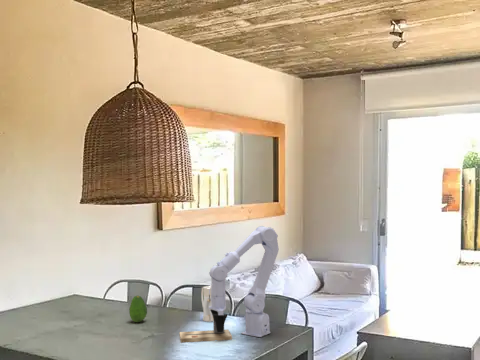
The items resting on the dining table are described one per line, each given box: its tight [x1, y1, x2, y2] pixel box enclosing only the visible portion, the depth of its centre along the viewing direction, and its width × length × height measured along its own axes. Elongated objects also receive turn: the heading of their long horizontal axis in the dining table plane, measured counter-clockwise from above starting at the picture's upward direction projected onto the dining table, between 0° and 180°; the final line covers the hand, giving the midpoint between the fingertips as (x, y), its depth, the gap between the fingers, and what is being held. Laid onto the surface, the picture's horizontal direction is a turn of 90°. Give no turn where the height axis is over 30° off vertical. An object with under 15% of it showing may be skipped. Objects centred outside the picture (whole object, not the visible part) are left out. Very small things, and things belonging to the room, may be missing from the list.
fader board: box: [178, 329, 233, 344], centre depth 219 cm, size 20×10×2 cm, turn 100°
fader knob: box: [212, 321, 225, 333], centre depth 220 cm, size 4×2×4 cm, turn 100°
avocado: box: [128, 294, 148, 323], centre depth 246 cm, size 8×8×12 cm
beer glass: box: [200, 285, 214, 323], centre depth 248 cm, size 7×7×15 cm
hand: (218, 329), depth 220 cm, fingers open, 7 cm apart
